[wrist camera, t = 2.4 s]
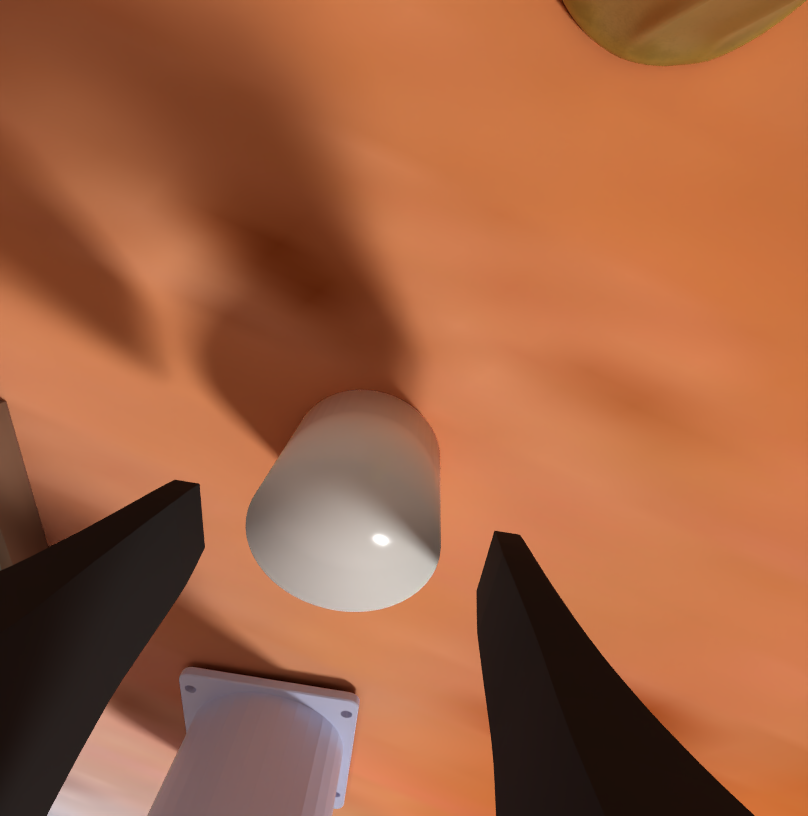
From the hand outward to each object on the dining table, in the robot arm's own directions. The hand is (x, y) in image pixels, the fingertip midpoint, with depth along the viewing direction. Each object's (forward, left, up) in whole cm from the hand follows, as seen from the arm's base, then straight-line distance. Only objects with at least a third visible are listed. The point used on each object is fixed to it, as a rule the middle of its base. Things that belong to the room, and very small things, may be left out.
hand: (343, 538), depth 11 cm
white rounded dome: (0, 0, -4) cm, 4 cm away
